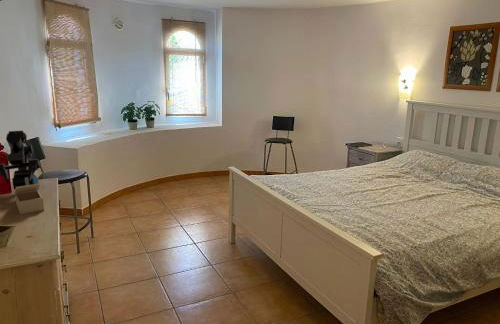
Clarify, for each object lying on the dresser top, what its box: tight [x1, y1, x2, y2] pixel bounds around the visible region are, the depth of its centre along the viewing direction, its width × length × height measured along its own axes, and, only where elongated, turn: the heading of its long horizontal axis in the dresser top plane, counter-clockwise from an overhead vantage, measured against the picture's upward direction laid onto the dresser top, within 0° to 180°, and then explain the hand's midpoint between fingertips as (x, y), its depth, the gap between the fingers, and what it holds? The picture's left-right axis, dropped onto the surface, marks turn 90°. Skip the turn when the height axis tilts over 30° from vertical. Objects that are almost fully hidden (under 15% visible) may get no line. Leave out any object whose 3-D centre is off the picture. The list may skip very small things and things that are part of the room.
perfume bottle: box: [28, 167, 39, 184], centre depth 210 cm, size 6×6×12 cm
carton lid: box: [14, 177, 41, 195], centre depth 182 cm, size 14×10×5 cm
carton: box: [14, 189, 45, 216], centre depth 183 cm, size 14×10×6 cm
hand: (18, 182), depth 180 cm, fingers open, 9 cm apart
